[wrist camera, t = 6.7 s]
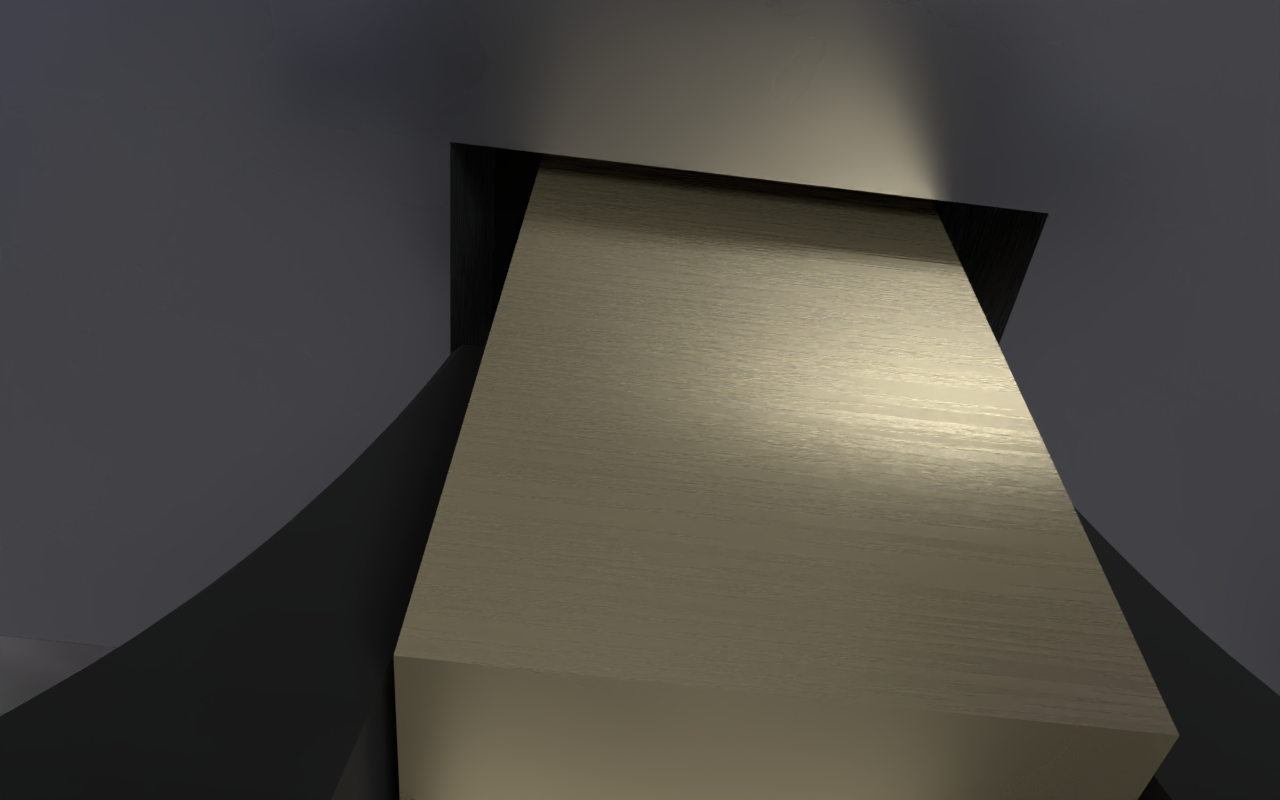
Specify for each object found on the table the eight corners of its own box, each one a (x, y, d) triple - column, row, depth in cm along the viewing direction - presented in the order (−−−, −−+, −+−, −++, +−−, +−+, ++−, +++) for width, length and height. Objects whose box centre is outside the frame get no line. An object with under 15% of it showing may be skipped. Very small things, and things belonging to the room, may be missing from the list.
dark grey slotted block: (-36, 473, 16) (-162, 619, 14) (-315, -282, 10) (-622, -258, 8) (1324, 618, 17) (1428, 781, 15) (1794, -10, 11) (2103, 90, 9)
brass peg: (530, 438, 13) (409, 1027, 7) (548, 137, 11) (394, 655, 5) (839, 471, 13) (955, 1076, 8) (923, 181, 11) (1180, 733, 5)
